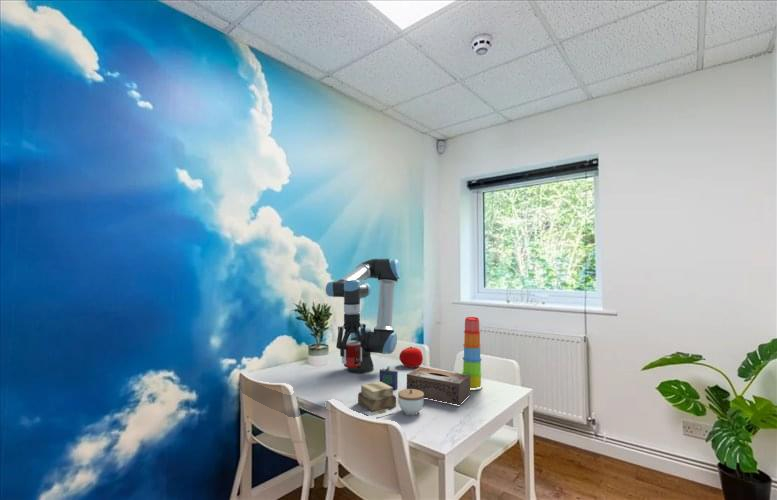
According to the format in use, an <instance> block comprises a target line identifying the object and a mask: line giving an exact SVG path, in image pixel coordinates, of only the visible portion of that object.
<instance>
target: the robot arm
mask: <svg viewBox="0 0 777 500" xmlns="http://www.w3.org/2000/svg"><path fill="white" fill-rule="evenodd" d="M399 261H400V260H398V259H395V258H371V259H368V260H366V261H363V262H360V263H359V264H358V265H357V266H356V267H355V269H353V270H352V271H350V272H349V273H348V274H346V275H344V276H343V277H341V278H340V279H338V280H336V281H329V282H327V283H326V286H325V294H326V295H327V296H328V297H333V298H343V325H342V326H338V327H337V331H338V332H337V341H336V346H335V347H336V349H338V350H339V352H340V353H339V354H340V357H341V363H342V364H343V365H344V364H346V350H345V346H346V343H347V341H349V339H350V340H356V341H360V343H361V364H360V366H359V367H357V368H347V367H346V369H347V371H348V372H350V373H354V374H367V373H370V372H373V371H374V369H375V367H374V362H373V359H372V356H371V355H372V353H375V354H382V355H386V354H387V355H390V354H393V352H394V351H395V350H396V347H397V343H398V335H397V332H396V333H395V329H394V328H393V315H394V313H393V310H394V300H395V299H394V298H395V286H396V284H397V283H398V280H400V279H401V278H402V267H401V263H400V262H399ZM368 279H377V282H378V283H379V292H378V305H377V317H376V318H377V319H376V326H374V327H373V331H372V329H371V327H370V328H369V327H366V326H367V325H366V324H365V323H361V314H360V312H361V299H363V298H364V299H365V298H367V297H369V295H371V291H372V286H371V285H370V283H368V282H365V280H368ZM349 337H350V338H349Z"/></svg>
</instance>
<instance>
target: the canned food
mask: <svg viewBox="0 0 777 500" xmlns="http://www.w3.org/2000/svg"><path fill="white" fill-rule="evenodd" d="M345 350H346V364H343V366H344V367H345V368H346V369H347V368H357V367H359V366H360V364H361V343H360V341H356V340H351V339H350V340H349V339H348V340H347V343H346V346H345Z"/></svg>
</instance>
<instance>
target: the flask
mask: <svg viewBox="0 0 777 500" xmlns="http://www.w3.org/2000/svg"><path fill="white" fill-rule="evenodd" d="M390 368H391V366H386V368H384V367H382V368H379V381H381V382H383V383H385V384H387V385H389V386H391V387H393V391H396V390H398V388H399V387H398V385H399V384H398V382H399V380H398V372H399V371H398V370H397V369H390Z"/></svg>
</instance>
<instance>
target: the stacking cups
mask: <svg viewBox="0 0 777 500" xmlns="http://www.w3.org/2000/svg"><path fill="white" fill-rule="evenodd" d="M463 333H464V337H463V338H464V343H463V345H462V346H463V357H462V360H463V366H462V368H463V370H462V371H461V374H466V375H470V388H477V387H480V386H481V385H482V375H483V372H482V366H481V365H482V360H483V359H482V357H481V347H482V345H481V330H480V319H479V318H478V317H475V316H467V317H465V319H464V331H463Z"/></svg>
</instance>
